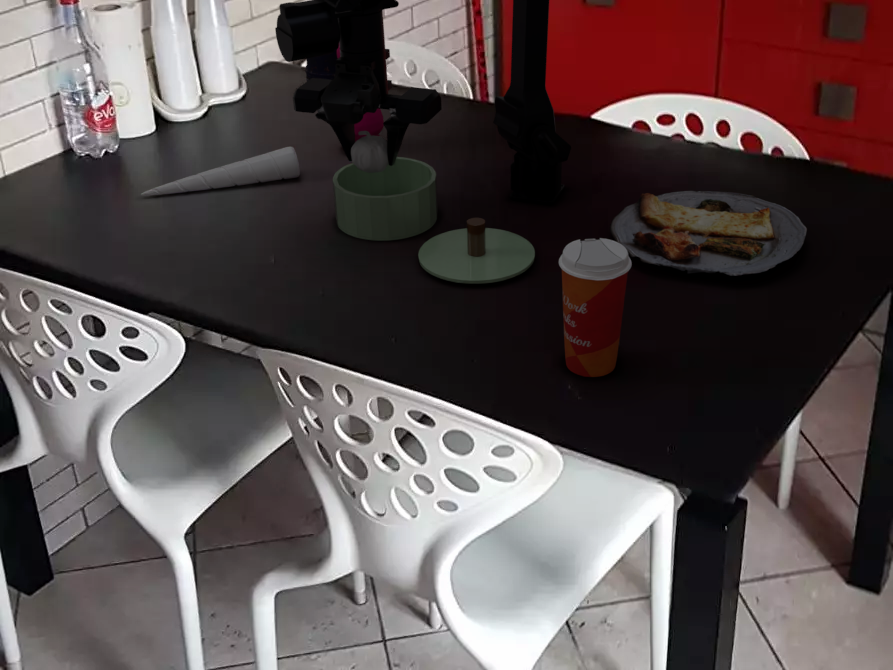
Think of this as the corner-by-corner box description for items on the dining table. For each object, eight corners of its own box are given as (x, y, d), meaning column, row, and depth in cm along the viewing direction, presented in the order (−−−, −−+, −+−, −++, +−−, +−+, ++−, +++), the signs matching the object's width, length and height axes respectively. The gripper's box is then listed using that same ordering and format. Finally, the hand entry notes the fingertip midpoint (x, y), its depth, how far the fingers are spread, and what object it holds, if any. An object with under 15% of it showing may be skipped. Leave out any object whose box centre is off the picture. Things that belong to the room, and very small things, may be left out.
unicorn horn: (140, 188, 176) (135, 158, 173) (297, 170, 180) (295, 141, 178) (141, 200, 172) (135, 170, 169) (301, 182, 176) (298, 152, 174)
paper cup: (551, 348, 133) (553, 237, 126) (617, 343, 133) (623, 233, 126) (562, 385, 126) (565, 271, 119) (632, 380, 127) (640, 266, 120)
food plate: (590, 267, 150) (591, 243, 148) (633, 196, 168) (635, 174, 166) (790, 297, 141) (793, 272, 140) (812, 219, 160) (816, 196, 158)
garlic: (343, 167, 156) (340, 130, 153) (379, 157, 158) (376, 121, 155) (364, 181, 151) (360, 144, 149) (400, 172, 154) (398, 134, 151)
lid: (549, 244, 156) (550, 205, 153) (512, 296, 144) (512, 255, 141) (444, 228, 161) (443, 190, 158) (400, 277, 149) (397, 237, 146)
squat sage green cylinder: (452, 205, 167) (451, 163, 164) (413, 247, 156) (411, 203, 153) (363, 192, 172) (360, 151, 169) (318, 232, 161) (315, 189, 158)
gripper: (265, 60, 143) (280, 178, 151) (405, 73, 137) (412, 195, 145) (307, 34, 152) (319, 146, 160) (440, 44, 145) (445, 161, 154)
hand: (371, 162), depth 154 cm, fingers closed on garlic, 5 cm apart
